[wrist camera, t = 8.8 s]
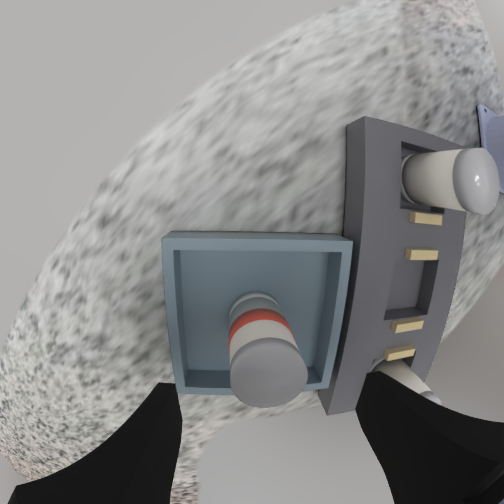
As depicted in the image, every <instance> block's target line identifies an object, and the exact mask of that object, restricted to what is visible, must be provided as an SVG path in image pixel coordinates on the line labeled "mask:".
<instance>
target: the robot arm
mask: <svg viewBox="0 0 504 504" xmlns="http://www.w3.org/2000/svg"><path fill="white" fill-rule="evenodd" d="M477 108H478V115H479V123H480V133H481V146H482V148H483V149H485V150H487V151H488V152H489V153H490V154H491V156H492V157H493V159H494V161H495V163H496V166H497V169H498V173H499V180H500V191H499V192H502V193H504V116H502V117H500V116H499V115H497V114H496V113H494V112H493V111H491V110H490V109H488V108H487V107H485V106H484V105H482V104H479V105H478V106H477ZM355 410H356V413H357V416H358V419H359V422H360V425H361V428H362V430H363V432H364V434H365V436H366V437H367V439H368V442H369V443H370V445H371V447H372V449H373V451H374V453H375V455H376V456H377V459H378V460H379V462H380V464H381V466H382V468H383V470H384V473H385V475H386V478H387V481H388V484H389V487H390V489H391V493H392V496H393V500H394V503H395V504H504V423H502V422H492V421H487V420H482V419H478V418H474V417H470V416H467V415H463V414H461V413H458V412H455V411H453V410H450V409H448V408H445V407H443V406H441V405H439V404H437V403H435V402H433V401H431V400H429V399H427V398H425V397H424V396H422V395H420V394H418V393H417V392H415V391H413V390H412V389H410V388H408V387H407V386H405V385H403V384H402V383H400V382H398V381H397V380H395V379H394V378H392V377H390V376H389V375H387V374H385V373H383V372H381V371H375V372H370V373H367V374H366V378H365V381H364V384H363V387H362V390H361V393H360V396H359V399H358V402H357V405H356V408H355ZM182 421H183V420H182V415H181V410H180V405H179V400H178V394H177V389H176V384H173V383H160V382H159V383H158V384H157V385H156V386H155V388H154V389H153V390H152V391H151V393H150V394H149V395H148V396H147V398H146V399H145V400H144V401H143V403H142V404H141V405H140V406H139V407H138V408H137V410H136V411H135V412H134V413H133V414H132V415H131V416H130V417H129V418H128V420H127V421H126V422H125V423H124V424H123V425H122V426H121V427H120V428H119V429H118V430H116V431H115V432H114V433H113V434H112V435H111V436H110V437H109V438H108V439H107V440H106V441H104V442H103V443H102V444H101V445H99V446H98V447H97V448H96V449H94V450H93V451H92V452H90V453H89V454H87V455H86V456H84V457H83V458H81V459H80V460H78V461H77V462H75V463H73V464H71V465H70V466H68V467H66V468H64V469H62V470H60V471H58V472H55V473H53V474H51V475H49V476H46V477H44V478H41V479H38V480H35V481H32V482H29V483H25V484H21V485H17V486H16V488H15V489H14V491H13V493H12V495H11V498H10V500H9V502H8V504H170V494H171V487H172V482H173V478H174V473H175V468H176V463H177V458H178V453H179V449H180V444H181V434H182Z"/></svg>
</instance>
